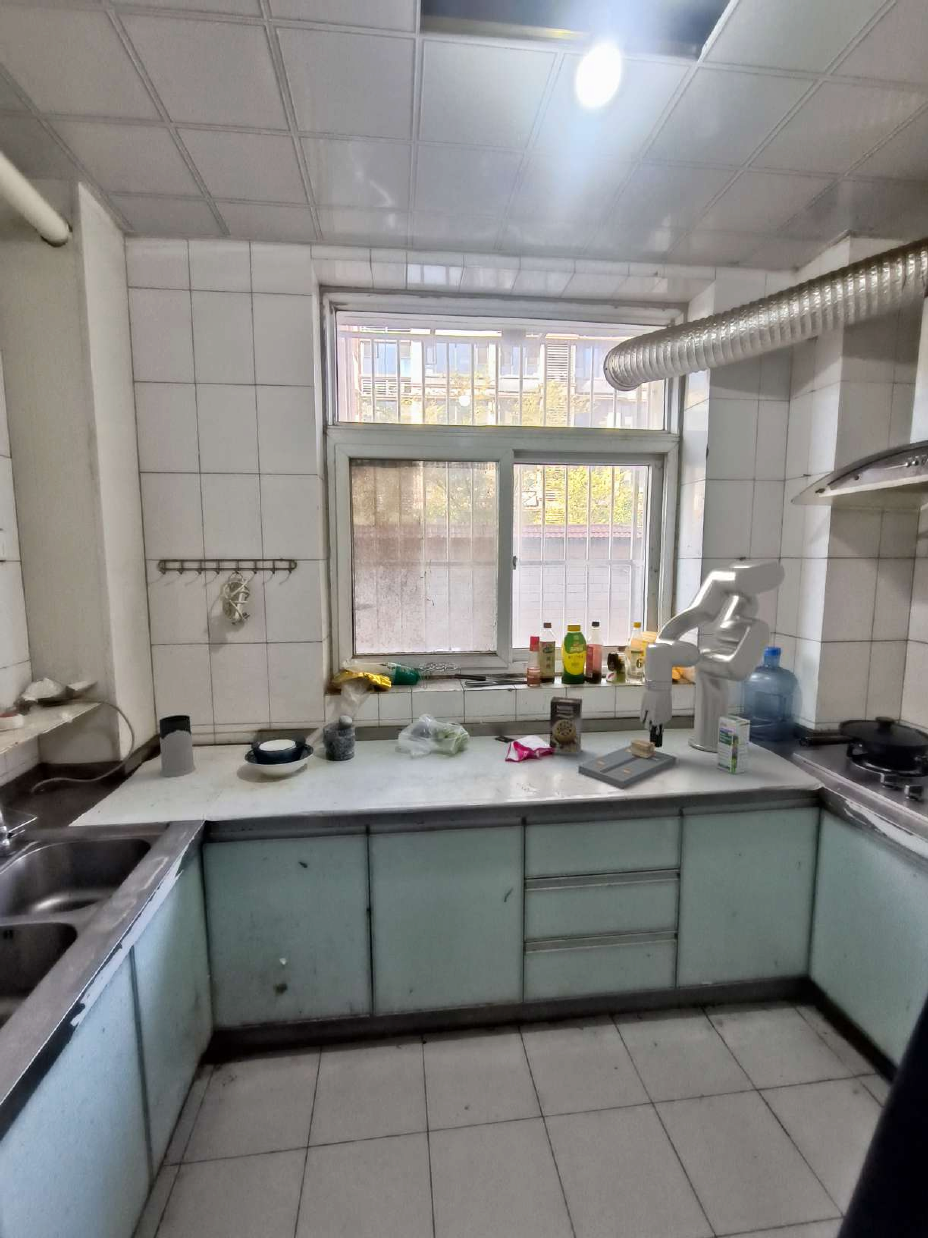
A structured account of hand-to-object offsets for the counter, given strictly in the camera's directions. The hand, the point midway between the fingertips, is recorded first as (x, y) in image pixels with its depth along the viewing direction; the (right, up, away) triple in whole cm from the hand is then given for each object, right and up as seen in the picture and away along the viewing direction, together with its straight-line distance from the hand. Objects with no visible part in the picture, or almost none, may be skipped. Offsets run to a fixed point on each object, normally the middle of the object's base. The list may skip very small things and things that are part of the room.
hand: (655, 745), depth 159 cm
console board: (-11, -4, -8) cm, 14 cm away
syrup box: (+17, -4, -10) cm, 21 cm away
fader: (-5, -1, -4) cm, 7 cm away
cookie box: (-26, -3, +5) cm, 26 cm away
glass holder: (-138, -5, -6) cm, 139 cm away
